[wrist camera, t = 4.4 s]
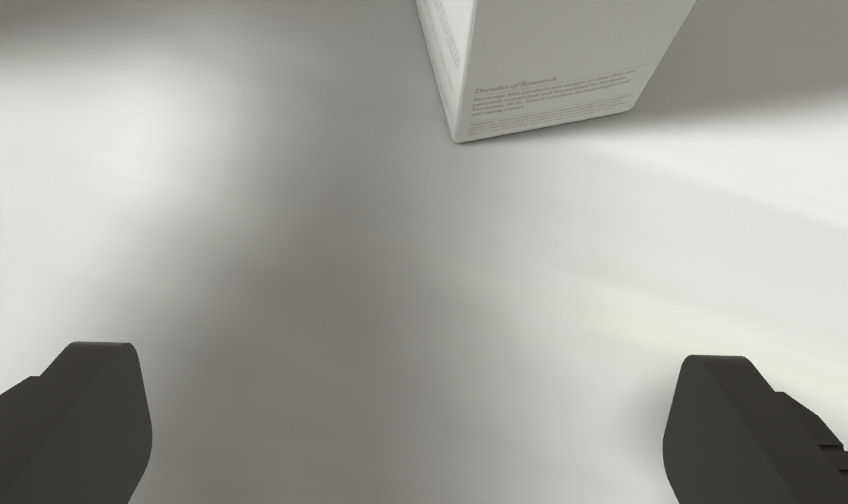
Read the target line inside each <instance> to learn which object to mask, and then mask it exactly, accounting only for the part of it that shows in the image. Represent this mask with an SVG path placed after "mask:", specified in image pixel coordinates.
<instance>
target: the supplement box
mask: <svg viewBox="0 0 848 504" xmlns="http://www.w3.org/2000/svg"><path fill="white" fill-rule="evenodd" d="M415 1H416V5H417V10H418V14H419V18H420V22H421V26H422V30H423V34H424V37H425V41H426V45H427V49H428V52H429V56H430V60H431V63H432V67H433V71H434V74H435V78H436V82H437V85H438V89H439V93H440V96H441V100H442V104H443V107H444V111H445V115H446V118H447V122H448V126H449V129H450V133H451V137H452V141H453V142H454V143H460V142H468V141H473V140H478V139H485V138H490V137H495V136H500V135H506V134H510V133H517V132H523V131H528V130H533V129H538V128H543V127H549V126H555V125H560V124H565V123H570V122H576V121H581V120H586V119H591V118H596V117H603V116H607V115H612V114H616V113H620V112H624V111H628V110H631V109H632V108H633V106H634V105H635V103H636V102H637V100H638V98H639V97H640V95H641V93H642V91H643V90H644V88H645V86H646V85H647V83H648V81H649V80H650V78H651V77H652V75H653V74H654V72H655V70H656V68H657V67H658V65H659V63H660V62H661V60H662V58H663V57H664V55H665V53H666V51H667V50H668V48H669V46H670V45H671V43H672V42H673V40H674V38H675V36H676V35H677V33H678V31H679V30H680V28H681V26H682V25H683V23H684V21H685V20H686V18H687V16H688V15H689V13H690V11H691V10H692V8H693V6H694V5H695V3H696V1H697V0H415Z"/></svg>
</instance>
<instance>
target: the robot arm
mask: <svg viewBox="0 0 848 504" xmlns="http://www.w3.org/2000/svg"><path fill="white" fill-rule="evenodd" d="M843 446H844V445H843V444H842V443H841V442H840V441H839V439H838V438H837V437H836V436H835V435H834V434H833V433H832V431H831V430H830V429H829V428H828V427H827V426H826V424H825V423H824V422H823V421H822V420H821V419H820V417H819V416H817V415H816V414H814V413H813V412H812V411H810V410H809V409H807V408H806V407H804V406H803V405H802V404H800V403H799V402H797V401H796V400H794V399H793V398H792V397H790V396H789V395H787V394H786V393H784V392H775V391H774V390H773V389H772V388H771V386H770V385H769V384H768V383H767V381H766V380H765V379H764V378H763V376H762V375H761V374H760V373H759V371H758V370H757V369H756V368H755V366H754V365H753V364H752V363H751V362H750V361H749V360H748V359H747V358H745V357H743V356H716V355H690V356H688V357H687V358H686V359H685V360H684V362H683V364H682V366H681V370H680V373H679V377H678V381H677V385H676V389H675V393H674V397H673V401H672V405H671V409H670V413H669V417H668V421H667V425H666V429H665V433H664V438H663V460H664V466H665V471H666V474H667V478H668V480H669V483H670V485H671V487H672V489H673V491H674V493H675V495H676V497H677V500H678V502H679V504H848V451H844V449H843ZM151 447H152V425H151V419H150V414H149V409H148V404H147V399H146V394H145V389H144V384H143V379H142V374H141V368H140V363H139V358H138V354H137V352H136V349H135V348H134V346H133V345H132V344H130V343H115V342H73V343H71V344H69V345H68V346H67V347H66V348H65V349H64V350H63V351H62V352H61V353H60V354H59V356H58V357H57V358H56V359H55V360H54V361H53V362H52V363H51V364H50V366H49V367H48V368H47V369H46V370H45V371H44V372H43V373H42V374H41V376H30V377H28V378H27V379H25V380H23V381H22V382H20V383H19V384H17V385H15V386H14V387H12V388H10V389H9V390H7V391H6V392H4V393H2V394H1V395H0V504H128V502H129V500H130V498H131V496H132V494H133V492H134V490H135V489H136V487H137V485H138V483H139V481H140V479H141V477H142V475H143V474H144V471H145V469H146V467H147V464H148V461H149V457H150V453H151Z"/></svg>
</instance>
